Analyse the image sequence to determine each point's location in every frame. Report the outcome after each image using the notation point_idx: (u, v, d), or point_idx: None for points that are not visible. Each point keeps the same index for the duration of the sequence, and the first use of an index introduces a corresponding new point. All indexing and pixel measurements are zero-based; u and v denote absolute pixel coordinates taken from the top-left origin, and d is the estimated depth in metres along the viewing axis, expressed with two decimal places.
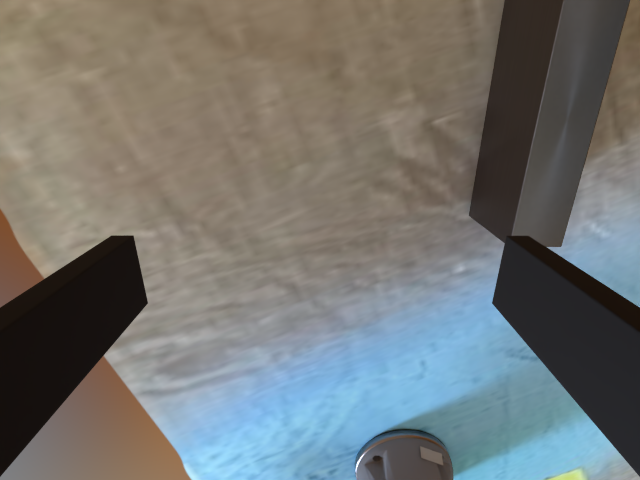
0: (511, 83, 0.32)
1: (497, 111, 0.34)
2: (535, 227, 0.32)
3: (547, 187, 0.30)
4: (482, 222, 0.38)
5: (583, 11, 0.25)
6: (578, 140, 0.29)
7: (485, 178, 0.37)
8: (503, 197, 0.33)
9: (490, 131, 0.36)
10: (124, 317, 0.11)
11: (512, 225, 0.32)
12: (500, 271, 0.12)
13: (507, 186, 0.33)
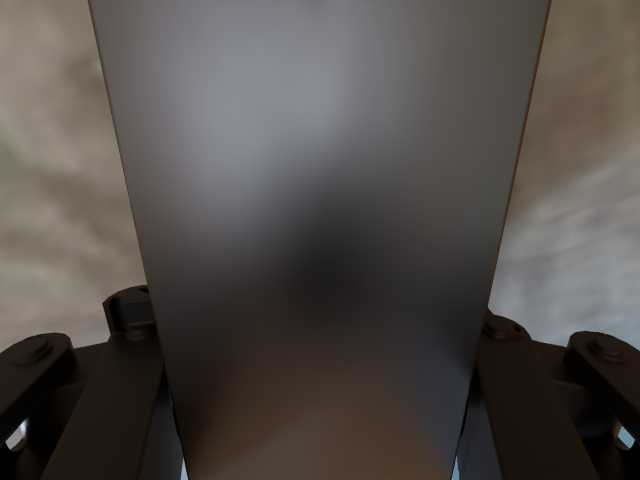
0: None
1: None
2: None
3: (302, 358, 0.05)
4: None
5: None
6: (442, 76, 0.04)
7: None
8: None
9: None
10: None
11: None
12: None
13: None
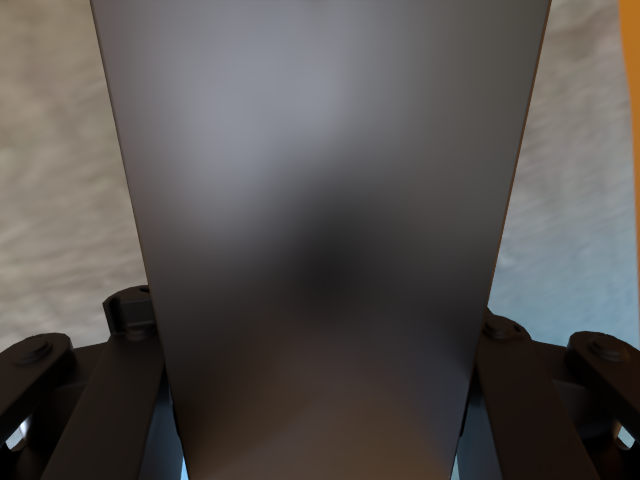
0: None
1: None
2: None
3: (302, 356, 0.05)
4: None
5: None
6: (443, 74, 0.04)
7: None
8: None
9: None
10: None
11: None
12: None
13: None
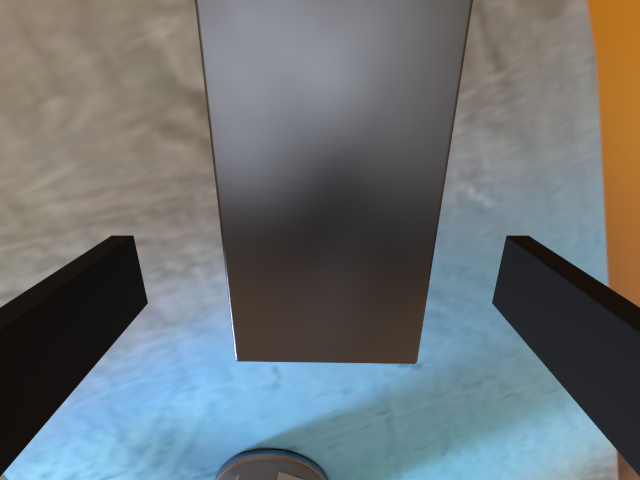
0: None
1: None
2: (311, 302, 0.09)
3: (317, 146, 0.07)
4: None
5: None
6: None
7: None
8: None
9: None
10: (125, 318, 0.11)
11: (230, 291, 0.09)
12: (500, 271, 0.12)
13: None
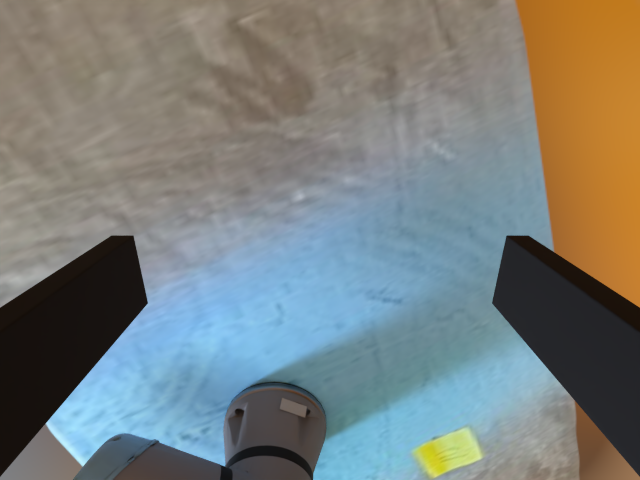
0: None
1: None
2: None
3: None
4: None
5: None
6: None
7: None
8: None
9: None
10: (124, 317, 0.11)
11: None
12: (500, 271, 0.12)
13: None
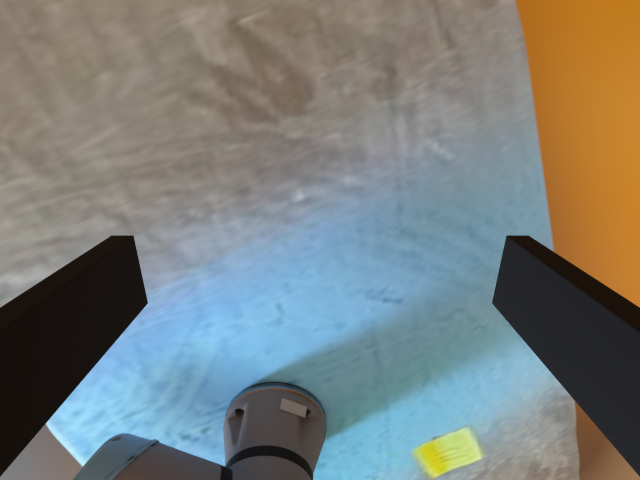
0: None
1: None
2: None
3: None
4: None
5: None
6: None
7: None
8: None
9: None
10: (124, 317, 0.11)
11: None
12: (500, 271, 0.12)
13: None
